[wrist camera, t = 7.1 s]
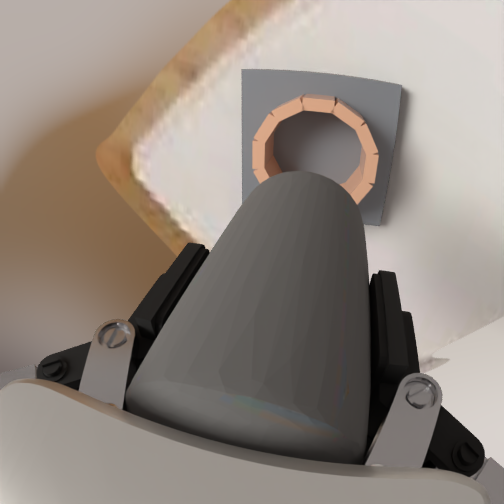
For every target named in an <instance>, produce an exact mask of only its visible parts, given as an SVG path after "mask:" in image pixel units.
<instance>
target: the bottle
mask: <svg viewBox="0 0 504 504" xmlns="http://www.w3.org/2000/svg"><path fill="white" fill-rule="evenodd" d="M370 389H371V313H370V290H369V273H368V260H367V250H366V241H365V232H364V225H363V220H362V216H361V213H360V210H359V208H358V206H357V204H356V203H355V201H354V199H353V198H352V197H351V195H350V194H349V193H348V192H347V191H346V190H345V189H344V188H343V187H342V186H341V185H339V184H338V183H336V182H335V181H333V180H332V179H330V178H327V177H325V176H323V175H320V174H317V173H313V172H306V171H290V172H284V173H280V174H277V175H274V176H272V177H270V178H268V179H266V180H265V181H263V182H262V183H261V184H259V185H258V186H257V187H256V188H255V189H254V190H253V191H252V192H251V193H250V195H249V196H248V197H247V199H246V200H245V201H244V203H243V204H242V205H241V207H240V208H239V210H238V211H237V212H236V214H235V215H234V217H233V218H232V220H231V221H230V223H229V224H228V226H227V228H226V229H225V231H224V232H223V234H222V235H221V237H220V238H219V240H218V241H217V243H216V244H215V246H214V247H213V249H212V250H211V252H210V253H209V255H208V257H207V258H206V260H205V261H204V263H203V264H202V266H201V267H200V269H199V270H198V272H197V274H196V275H195V277H194V278H193V280H192V281H191V283H190V285H189V286H188V288H187V289H186V291H185V292H184V294H183V296H182V297H181V299H180V300H179V302H178V304H177V305H176V307H175V308H174V310H173V312H172V313H171V315H170V316H169V318H168V320H167V321H166V323H165V324H164V326H163V328H162V329H161V331H160V333H159V334H158V336H157V338H156V340H155V341H154V343H153V345H152V346H151V348H150V350H149V352H148V353H147V355H146V357H145V358H144V360H143V362H142V364H141V365H140V367H139V369H138V371H137V372H136V374H135V376H134V378H133V380H132V382H131V384H130V386H129V387H128V389H127V391H126V394H125V400H126V407H127V411H128V412H129V413H131V414H134V415H136V416H139V417H142V418H144V419H147V420H150V421H153V422H155V423H158V424H161V425H164V426H167V427H170V428H173V429H176V430H179V431H182V432H186V433H189V434H192V435H195V436H199V437H202V438H206V439H209V440H213V441H217V442H221V443H225V444H229V445H233V446H237V447H241V448H246V449H250V450H255V451H260V452H265V453H270V454H275V455H281V456H287V457H293V458H299V459H306V460H313V461H321V462H330V463H341V464H353V465H361V464H362V463H363V458H364V454H365V449H366V442H367V432H368V420H369V407H370Z"/></svg>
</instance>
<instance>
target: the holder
mask: <svg viewBox="0 0 504 504" xmlns="http://www.w3.org/2000/svg"><path fill="white" fill-rule="evenodd" d="M401 88H402V85H399V84H395V83H390V82H384V81H379V80H373V79H367V78H360V77H353V76H346V75H337V74H329V73H319V72H307V71H292V70H270V69H242V204H243V203H244V201H245V200H246V199H247V197H248V196H249V195H250V193H251V192H252V191H253V190H254V189H255V188H256V187H257V186H258V185H259V184H261V183H262V182H263V181H265V180H266V179H268V178H270V177H272V176H274V175H277V174H280V173H284V172H290V171H306V172H313V173H317V174H320V175H323V176H325V177H327V178H330V179H332V180H333V181H335V182H336V183H338V184H339V185H341V186H342V187H343V188H344V189H345V190H346V191H347V192H348V193H349V194H350V195H351V197H352V198H353V199H354V201H355V203H356V204H357V206H358V208H359V210H360V213H361V216H362V220H363V224H367V225H373V226H380V222H381V217H382V212H383V208H384V203H385V198H386V193H387V187H388V182H389V176H390V171H391V165H392V159H393V152H394V146H395V139H396V132H397V124H398V116H399V108H400V98H401Z"/></svg>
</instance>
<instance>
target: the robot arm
mask: <svg viewBox="0 0 504 504" xmlns="http://www.w3.org/2000/svg"><path fill="white" fill-rule="evenodd" d="M209 253H210V252H209V250H208V249H205V246H204V245H203V244H196V243H188V244H187V245H186V246H185V248H184V249H183V250H182V252H181V253H180V254H179V256H178V257H177V258H176V260H175V261H174V262H173V264H172V265H171V266H170V268H169V269H168V270H167V272H166V273H165V274H162V275H161V276H160V277H159V278H158V280H157V281H156V283H155V284H154V285H153V287H152V288H151V289H150V291H149V292H148V293H147V295H146V296H145V298H144V299H143V300H142V302H141V303H140V304H139V306H138V307H137V309H136V310H135V311H134V313H133V314H132V316H131V317H130V318H129V320H128V321H126V320H123V319H113V320H110V321H107V322H105V323H103V324H102V325H100V326H99V327H98V328H97V330H96V331H95V334H94V336H93V340H92V341H91V342H88V343H85V344H82V345H79V346H77V347H73V348H70V349H67V350H64V351H61V352H58V353H55V354H52V355H49V356H47V357H46V358H44V359H43V360H42V361H41V362H40V364H39V365H38V367H36V366H35V365H31V366H27V367H24V368H19V369H15V370H12V371H8V372H4V373H0V504H504V468H503V467H502V466H500V465H499V464H498V463H497V462H496V461H495V460H493V459H492V458H491V457H490V458H489V459H487V458H486V457H485V452H484V448H483V445H482V443H481V442H480V441H479V440H478V439H477V438H476V437H475V436H474V435H473V434H472V433H471V432H470V431H469V430H468V429H467V428H465V427H464V426H463V425H462V424H461V423H460V422H459V421H458V420H457V419H455V417H453V416H452V415H451V414H450V413H449V412H448V411H447V410H446V409H445V408H444V407H442V406H441V402H442V391H441V388H440V386H439V384H438V383H437V382H436V381H435V380H434V379H433V378H432V377H430V376H428V375H426V374H422V373H420V369H419V361H418V353H417V346H416V339H415V333H414V326H413V320H412V316H411V313H410V312H406V311H402V309H401V303H400V297H399V291H398V285H397V280H396V275H395V273H394V272H389V271H382V270H379V272H378V274H373V275H372V278H371V281H370V285H369V290H370V313H371V389H370V407H369V420H368V432H367V442H366V449H365V454H364V458H363V463H362V464H361V465H353V464H341V463H330V462H321V461H313V460H306V459H299V458H293V457H287V456H281V455H275V454H270V453H265V452H260V451H255V450H250V449H246V448H241V447H237V446H233V445H229V444H225V443H221V442H217V441H213V440H209V439H206V438H202V437H199V436H195V435H192V434H189V433H186V432H182V431H179V430H176V429H173V428H170V427H167V426H164V425H161V424H158V423H155V422H153V421H150V420H147V419H144V418H142V417H139V416H136V415H134V414H131V413H129V412H128V411H127V407H126V400H125V394H126V391H127V389H128V387H129V386H130V384H131V382H132V380H133V378H134V376H135V374H136V372H137V371H138V369H139V367H140V365H141V364H142V362H143V360H144V358H145V357H146V355H147V353H148V352H149V350H150V348H151V346H152V345H153V343H154V341H155V340H156V338H157V336H158V334H159V333H160V331H161V329H162V328H163V326H164V324H165V323H166V321H167V320H168V318H169V316H170V315H171V313H172V312H173V310H174V308H175V307H176V305H177V304H178V302H179V300H180V299H181V297H182V296H183V294H184V292H185V291H186V289H187V288H188V286H189V285H190V283H191V281H192V280H193V278H194V277H195V275H196V274H197V272H198V270H199V269H200V267H201V266H202V264H203V263H204V261H205V260H206V258H207V257H208V255H209Z"/></svg>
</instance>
